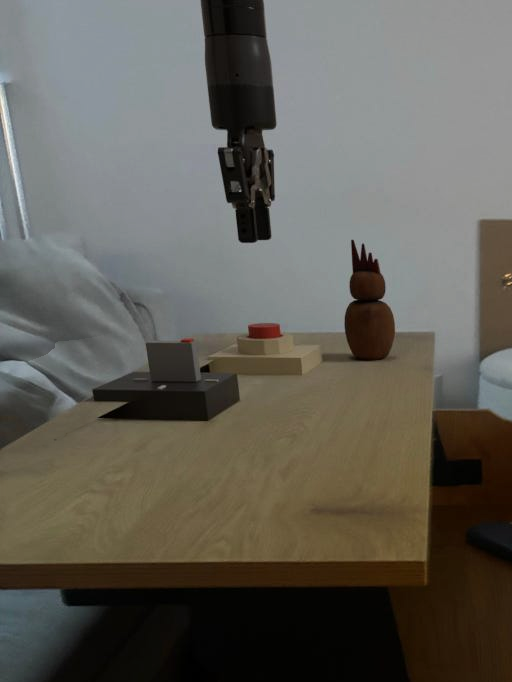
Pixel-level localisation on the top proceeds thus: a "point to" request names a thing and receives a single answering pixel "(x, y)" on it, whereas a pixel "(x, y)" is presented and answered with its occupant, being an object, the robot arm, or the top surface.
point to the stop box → (266, 357)
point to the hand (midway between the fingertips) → (255, 240)
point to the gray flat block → (173, 361)
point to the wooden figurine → (368, 310)
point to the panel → (169, 397)
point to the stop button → (264, 330)
